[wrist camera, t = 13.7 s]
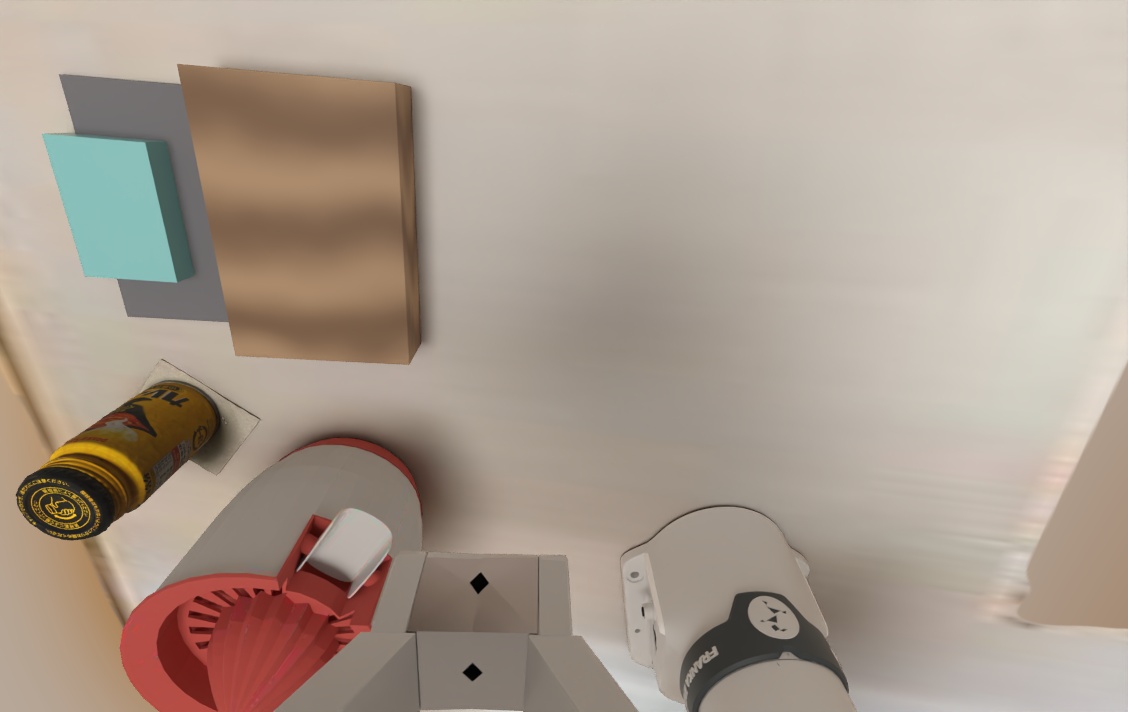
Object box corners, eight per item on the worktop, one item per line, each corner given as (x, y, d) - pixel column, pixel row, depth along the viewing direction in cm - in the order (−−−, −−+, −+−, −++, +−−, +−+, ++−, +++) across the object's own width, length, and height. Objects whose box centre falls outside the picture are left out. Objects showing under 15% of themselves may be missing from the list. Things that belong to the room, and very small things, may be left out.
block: (85, 276, 35) (107, 268, 37) (177, 282, 36) (194, 274, 38) (42, 133, 32) (69, 133, 34) (145, 142, 32) (166, 141, 34)
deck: (420, 343, 41) (409, 364, 37) (263, 334, 40) (235, 355, 36) (410, 87, 34) (394, 82, 30) (217, 70, 33) (177, 63, 29)
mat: (254, 321, 40) (252, 323, 39) (130, 315, 39) (127, 316, 39) (212, 87, 33) (209, 87, 33) (62, 74, 33) (58, 74, 32)
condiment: (162, 358, 41) (22, 444, 30) (261, 418, 43) (166, 519, 32) (122, 418, 43) (-23, 520, 32) (218, 473, 45) (116, 585, 34)
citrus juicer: (488, 467, 46) (453, 694, 28) (379, 579, 51) (289, 833, 33) (332, 365, 41) (169, 556, 23) (229, 499, 46) (28, 743, 28)
